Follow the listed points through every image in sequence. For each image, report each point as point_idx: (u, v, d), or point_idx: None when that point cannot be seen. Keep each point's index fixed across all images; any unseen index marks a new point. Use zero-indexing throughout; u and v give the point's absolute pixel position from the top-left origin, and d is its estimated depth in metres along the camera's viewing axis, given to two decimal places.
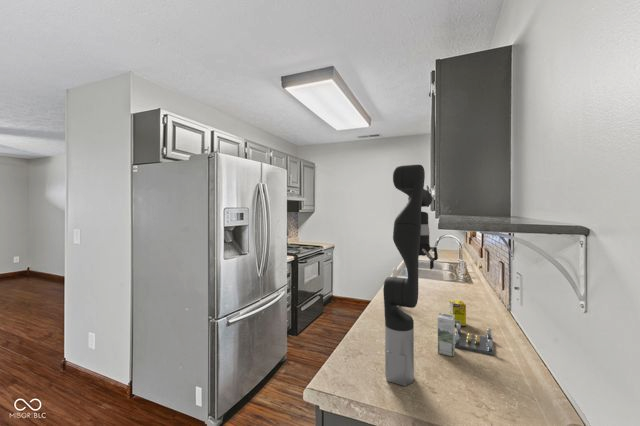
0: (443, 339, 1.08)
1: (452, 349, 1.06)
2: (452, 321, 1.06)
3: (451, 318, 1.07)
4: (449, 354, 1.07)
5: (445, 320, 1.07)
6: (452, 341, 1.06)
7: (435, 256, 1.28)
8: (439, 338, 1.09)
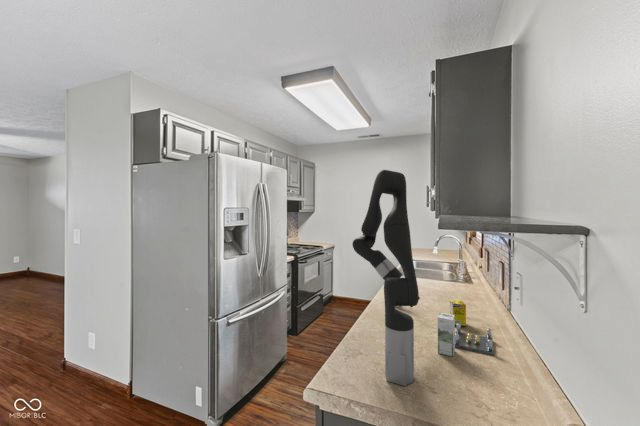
0: (443, 339, 1.08)
1: (452, 349, 1.06)
2: (452, 321, 1.06)
3: (451, 318, 1.07)
4: (449, 354, 1.07)
5: (445, 320, 1.07)
6: (452, 341, 1.06)
7: None
8: (439, 338, 1.09)
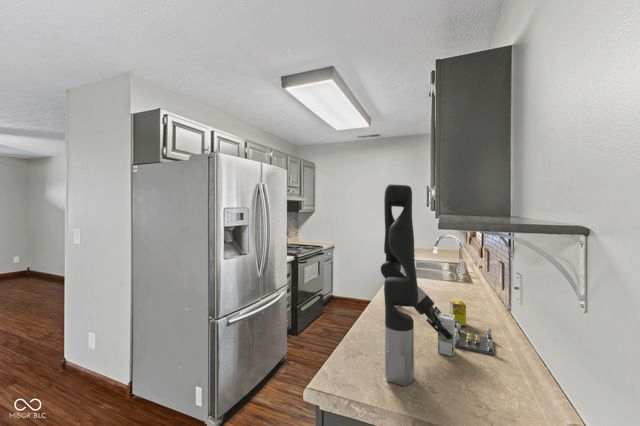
0: (443, 339, 1.08)
1: (452, 349, 1.06)
2: (452, 321, 1.06)
3: (451, 318, 1.07)
4: (449, 354, 1.07)
5: (445, 320, 1.07)
6: (452, 341, 1.06)
7: None
8: (439, 338, 1.09)
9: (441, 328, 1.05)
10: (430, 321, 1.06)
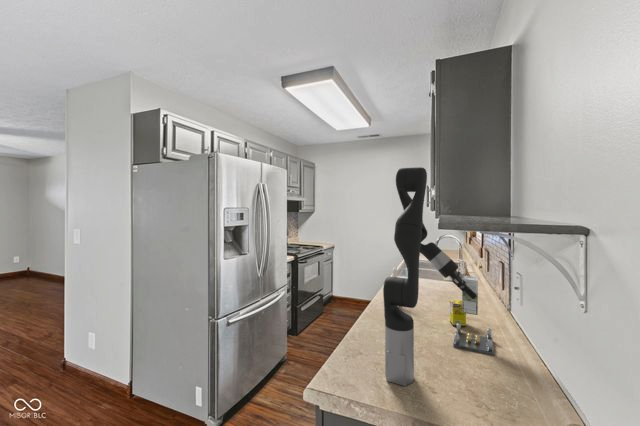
0: (468, 299, 1.15)
1: (476, 308, 1.13)
2: (476, 281, 1.13)
3: (475, 279, 1.14)
4: (473, 312, 1.14)
5: (470, 281, 1.14)
6: (476, 300, 1.13)
7: None
8: (464, 298, 1.15)
9: (466, 288, 1.12)
10: (456, 281, 1.13)
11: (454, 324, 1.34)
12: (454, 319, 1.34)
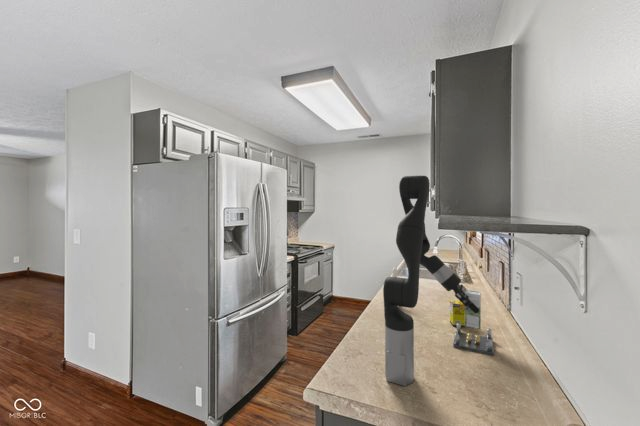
0: (470, 313, 1.15)
1: (479, 322, 1.13)
2: (479, 296, 1.13)
3: (478, 293, 1.14)
4: (476, 327, 1.14)
5: (473, 295, 1.14)
6: (479, 315, 1.13)
7: None
8: (466, 312, 1.15)
9: (469, 302, 1.12)
10: (458, 296, 1.13)
11: (454, 324, 1.34)
12: (454, 319, 1.34)
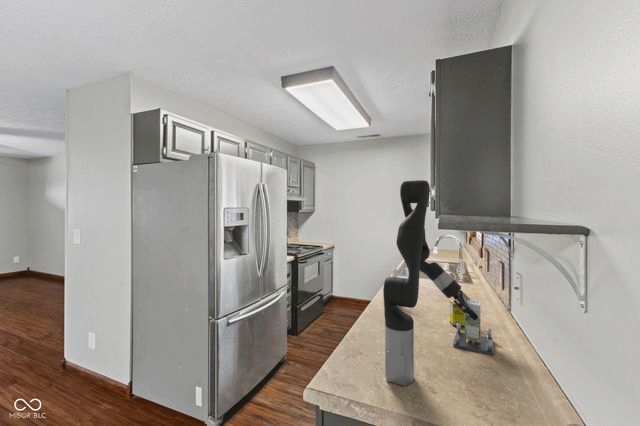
0: (470, 323, 1.14)
1: (479, 332, 1.13)
2: (479, 306, 1.13)
3: (478, 303, 1.14)
4: (476, 337, 1.14)
5: (472, 305, 1.14)
6: (479, 325, 1.13)
7: (467, 297, 1.23)
8: (466, 322, 1.15)
9: (468, 309, 1.11)
10: (457, 302, 1.13)
11: (454, 324, 1.34)
12: (454, 319, 1.34)
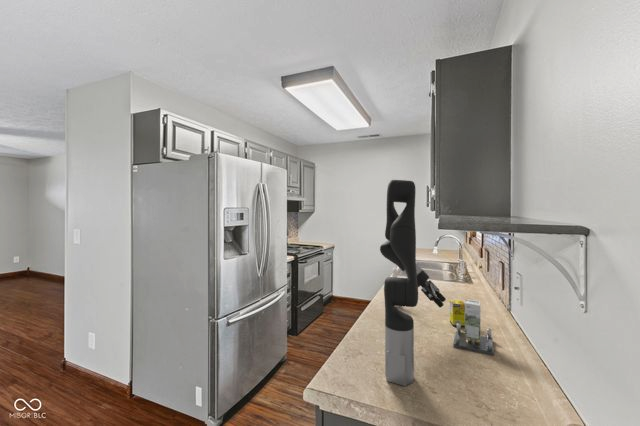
0: (470, 323, 1.14)
1: (479, 332, 1.13)
2: (479, 306, 1.13)
3: (478, 303, 1.14)
4: (476, 337, 1.14)
5: (472, 305, 1.14)
6: (479, 325, 1.13)
7: (436, 287, 1.30)
8: (466, 322, 1.15)
9: (433, 296, 1.18)
10: (424, 290, 1.20)
11: (454, 324, 1.34)
12: (454, 319, 1.34)
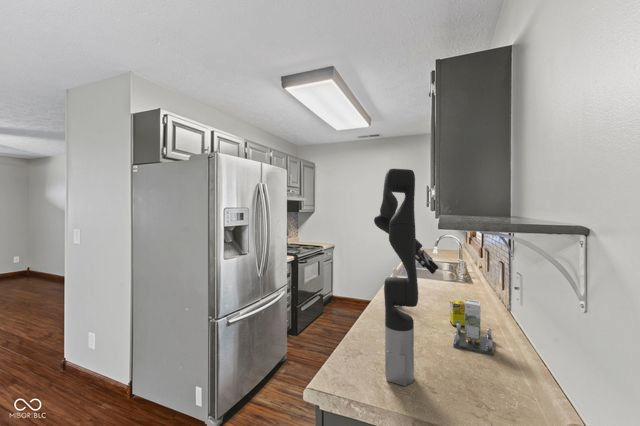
0: (470, 323, 1.14)
1: (479, 332, 1.13)
2: (479, 306, 1.13)
3: (478, 303, 1.14)
4: (476, 337, 1.14)
5: (472, 305, 1.14)
6: (479, 325, 1.13)
7: (429, 256, 1.33)
8: (466, 322, 1.15)
9: (426, 263, 1.21)
10: (417, 257, 1.23)
11: (454, 324, 1.34)
12: (454, 319, 1.34)
